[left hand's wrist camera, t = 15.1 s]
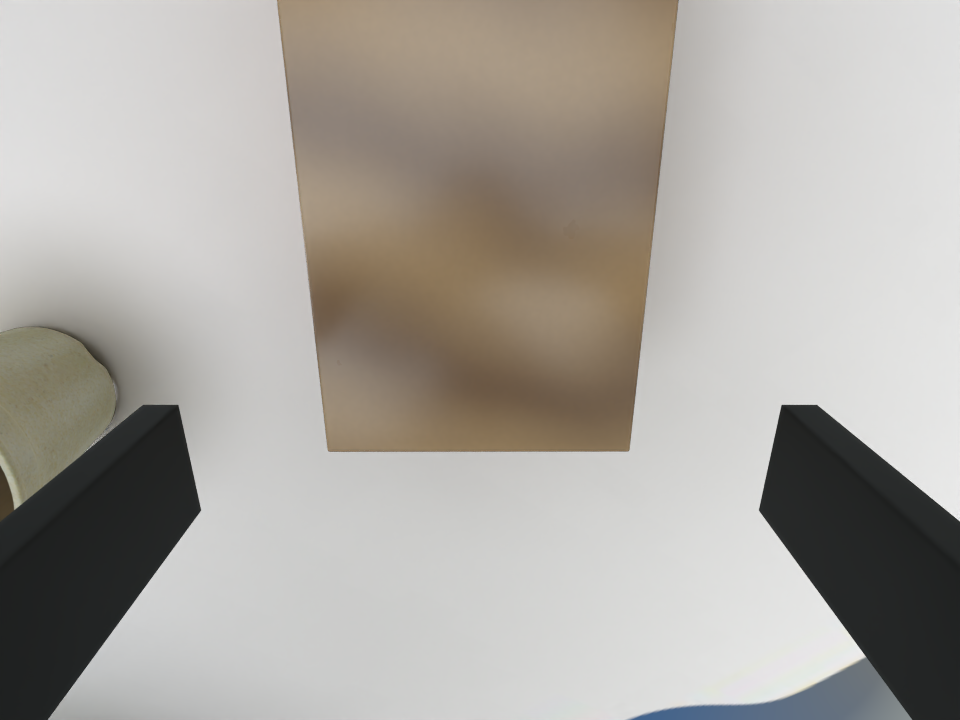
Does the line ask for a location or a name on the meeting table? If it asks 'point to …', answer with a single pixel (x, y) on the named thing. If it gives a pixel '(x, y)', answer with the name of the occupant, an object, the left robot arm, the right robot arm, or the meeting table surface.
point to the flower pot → (46, 409)
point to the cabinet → (478, 215)
